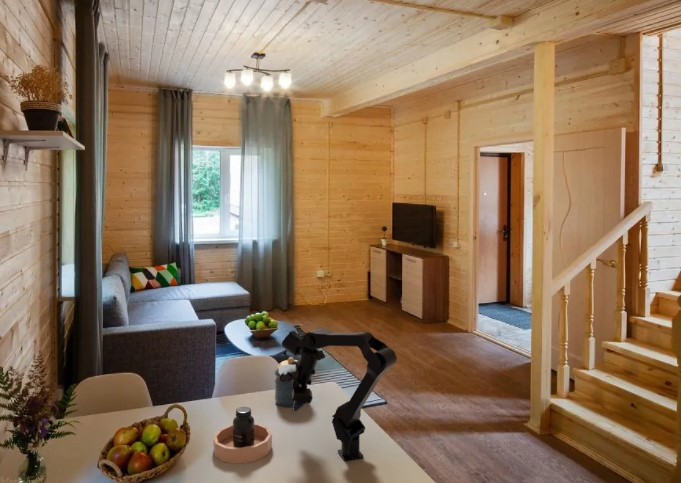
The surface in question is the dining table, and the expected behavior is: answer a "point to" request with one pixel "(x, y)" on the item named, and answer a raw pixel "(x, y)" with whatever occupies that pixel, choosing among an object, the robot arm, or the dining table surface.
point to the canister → (284, 387)
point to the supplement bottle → (243, 428)
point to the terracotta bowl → (245, 454)
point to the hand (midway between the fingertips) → (293, 401)
